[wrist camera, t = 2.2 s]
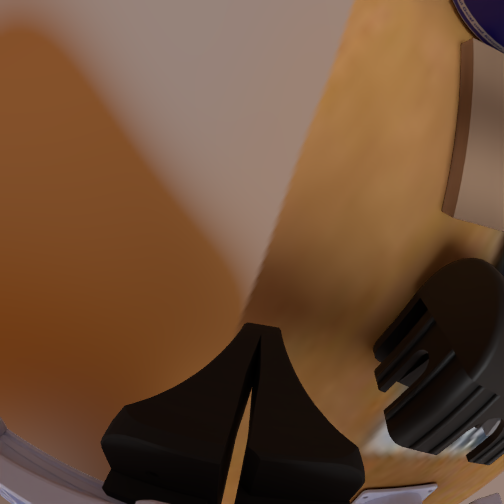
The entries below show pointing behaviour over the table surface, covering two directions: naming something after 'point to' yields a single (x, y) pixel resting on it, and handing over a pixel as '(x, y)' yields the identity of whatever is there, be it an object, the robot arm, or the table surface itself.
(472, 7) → the energy drink
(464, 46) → the walnut stand
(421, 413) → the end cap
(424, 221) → the table surface
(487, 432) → the corral stand
